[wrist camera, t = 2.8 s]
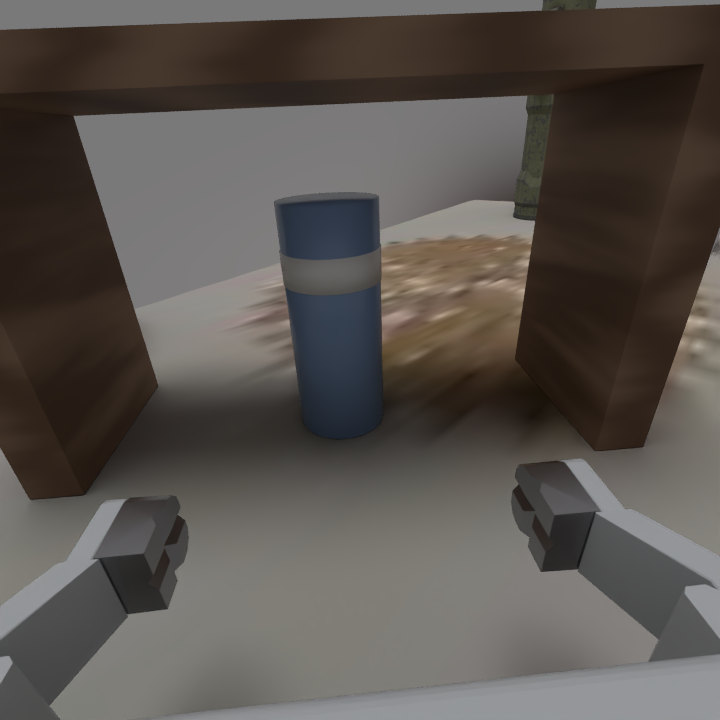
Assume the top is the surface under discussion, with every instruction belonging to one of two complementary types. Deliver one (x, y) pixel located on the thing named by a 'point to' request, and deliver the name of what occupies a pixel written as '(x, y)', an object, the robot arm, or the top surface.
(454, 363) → the top surface
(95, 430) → the riser
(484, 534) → the top surface
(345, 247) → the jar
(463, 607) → the top surface
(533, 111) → the thermos
